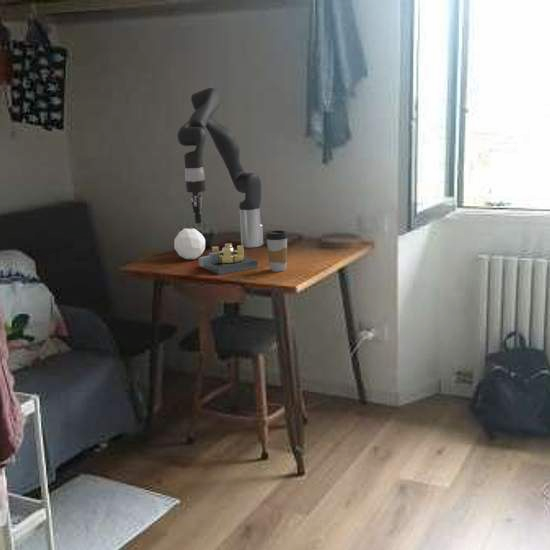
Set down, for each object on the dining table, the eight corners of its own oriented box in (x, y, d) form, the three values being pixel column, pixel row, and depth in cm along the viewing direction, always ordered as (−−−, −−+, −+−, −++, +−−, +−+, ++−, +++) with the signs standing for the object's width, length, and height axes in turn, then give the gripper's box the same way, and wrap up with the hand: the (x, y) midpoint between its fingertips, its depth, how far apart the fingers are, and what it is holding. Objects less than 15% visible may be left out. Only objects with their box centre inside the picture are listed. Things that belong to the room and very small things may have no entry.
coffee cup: (276, 266, 289) (275, 229, 286) (293, 268, 284) (291, 231, 281) (263, 270, 283) (261, 233, 280) (279, 273, 278) (278, 234, 274)
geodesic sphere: (162, 245, 312) (172, 222, 304) (187, 240, 322) (197, 217, 313) (180, 268, 306) (190, 245, 298) (205, 262, 316) (216, 240, 307)
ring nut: (229, 254, 299) (228, 242, 298) (250, 258, 291) (249, 245, 290) (190, 264, 285) (189, 251, 284) (211, 268, 277) (210, 254, 276)
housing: (237, 260, 303) (236, 241, 301) (257, 267, 289) (256, 248, 287) (200, 266, 295) (199, 247, 293) (219, 274, 280) (218, 254, 279)
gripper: (187, 177, 289) (190, 220, 293) (183, 181, 276) (187, 226, 280) (206, 176, 289) (209, 219, 293) (203, 180, 276) (206, 225, 280)
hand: (198, 223), depth 287 cm, fingers closed
